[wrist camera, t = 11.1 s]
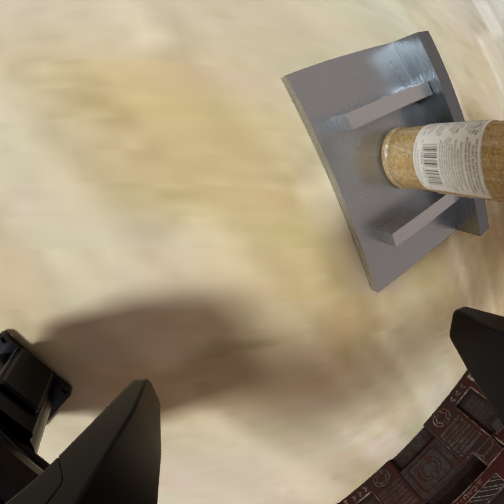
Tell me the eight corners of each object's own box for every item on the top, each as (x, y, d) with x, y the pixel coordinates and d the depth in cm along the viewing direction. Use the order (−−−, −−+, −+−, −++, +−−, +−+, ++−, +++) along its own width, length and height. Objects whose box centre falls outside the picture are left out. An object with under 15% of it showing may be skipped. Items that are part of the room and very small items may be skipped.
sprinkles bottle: (422, 190, 21) (585, 222, 9) (377, 187, 20) (565, 221, 7) (423, 130, 20) (586, 131, 7) (377, 120, 19) (564, 104, 6)
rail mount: (371, 289, 23) (401, 306, 19) (281, 78, 17) (305, 61, 14) (458, 220, 24) (488, 227, 21) (397, 42, 19) (427, 30, 15)
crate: (371, 521, 38) (425, 595, 18) (306, 522, 31) (368, 629, 12) (508, 374, 37) (590, 428, 18) (489, 329, 30) (611, 400, 11)
